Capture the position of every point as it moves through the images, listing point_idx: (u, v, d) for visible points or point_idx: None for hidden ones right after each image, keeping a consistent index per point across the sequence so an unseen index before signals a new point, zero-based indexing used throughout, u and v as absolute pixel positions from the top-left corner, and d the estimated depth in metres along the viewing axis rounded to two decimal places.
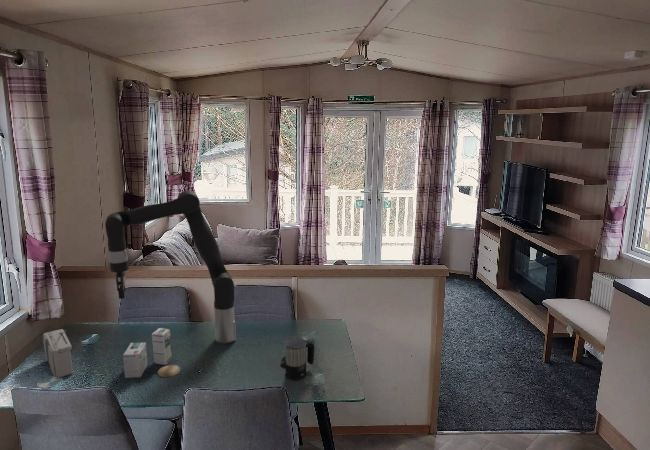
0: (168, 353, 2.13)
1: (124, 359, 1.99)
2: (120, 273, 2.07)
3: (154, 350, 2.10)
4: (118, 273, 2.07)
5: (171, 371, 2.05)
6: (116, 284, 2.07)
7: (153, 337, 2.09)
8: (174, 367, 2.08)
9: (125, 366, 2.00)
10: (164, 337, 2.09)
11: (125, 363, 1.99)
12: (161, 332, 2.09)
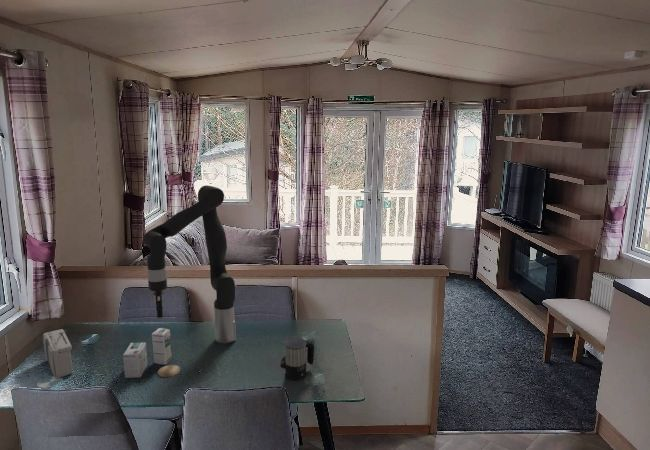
0: (168, 353, 2.13)
1: (124, 359, 1.99)
2: (159, 292, 2.03)
3: (154, 350, 2.10)
4: (157, 292, 2.03)
5: (171, 371, 2.05)
6: (155, 303, 2.03)
7: (153, 337, 2.09)
8: (174, 367, 2.08)
9: (125, 366, 2.00)
10: (164, 337, 2.09)
11: (125, 363, 1.99)
12: (161, 332, 2.09)
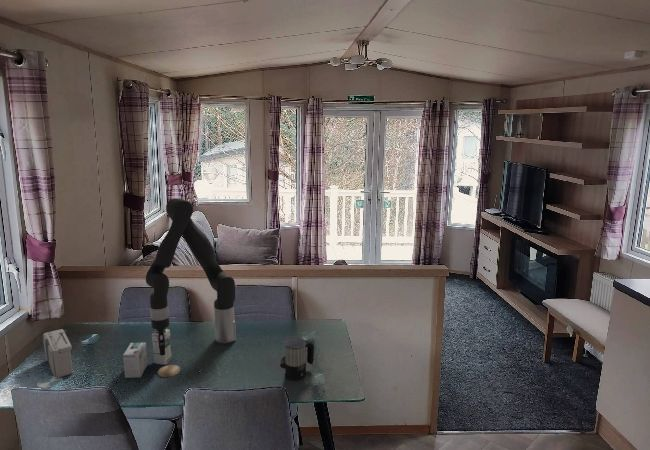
0: (168, 353, 2.13)
1: (124, 359, 1.99)
2: (162, 330, 2.07)
3: (154, 350, 2.10)
4: (160, 330, 2.07)
5: (171, 371, 2.05)
6: None
7: (153, 337, 2.09)
8: (174, 367, 2.08)
9: (125, 366, 2.00)
10: (164, 337, 2.09)
11: (125, 363, 1.99)
12: None
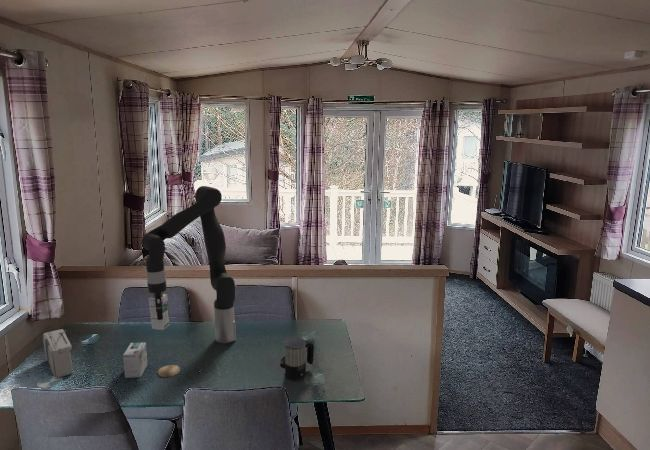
0: (166, 318, 2.09)
1: (124, 359, 1.99)
2: (159, 294, 2.03)
3: (151, 315, 2.06)
4: (157, 294, 2.03)
5: (171, 371, 2.05)
6: (155, 305, 2.03)
7: (150, 302, 2.05)
8: (174, 367, 2.08)
9: (125, 366, 2.00)
10: None
11: (125, 363, 1.99)
12: None
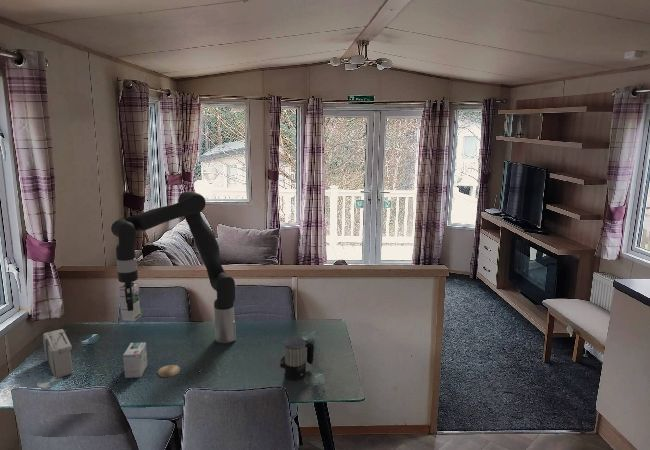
0: (137, 309, 1.99)
1: (124, 359, 1.99)
2: (129, 283, 1.93)
3: (121, 306, 1.97)
4: (127, 283, 1.93)
5: (171, 371, 2.05)
6: (125, 295, 1.94)
7: (120, 291, 1.95)
8: (174, 367, 2.08)
9: (125, 366, 2.00)
10: None
11: (125, 363, 1.99)
12: None
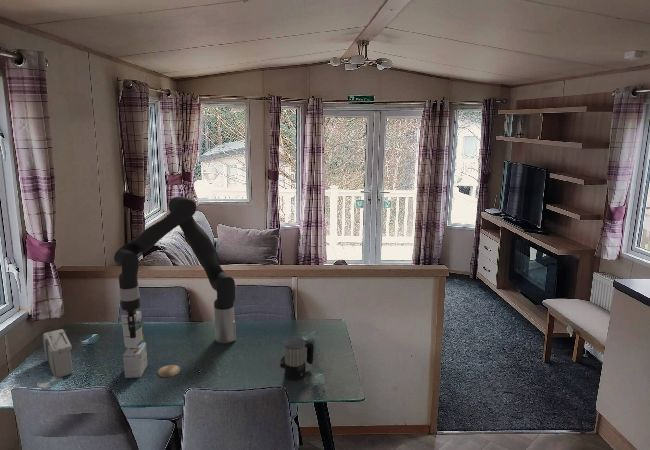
0: (139, 336, 2.02)
1: (124, 359, 1.99)
2: (132, 311, 1.96)
3: (124, 333, 1.99)
4: (129, 311, 1.96)
5: (171, 371, 2.05)
6: (127, 323, 1.96)
7: (123, 319, 1.98)
8: (174, 367, 2.08)
9: (125, 366, 2.00)
10: (134, 319, 1.98)
11: (125, 363, 1.99)
12: None
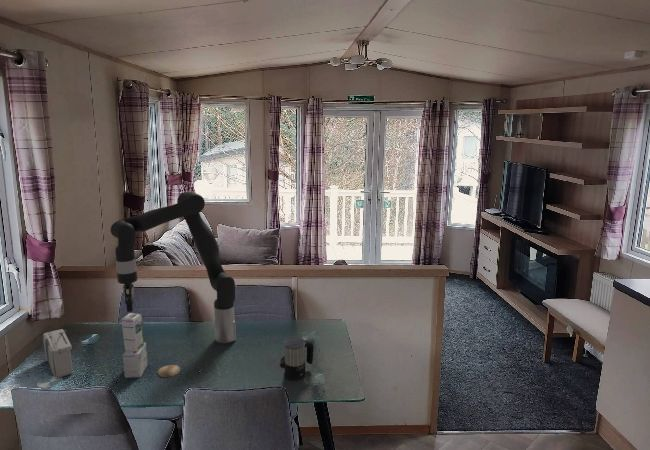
0: (140, 339, 2.02)
1: (124, 359, 1.99)
2: (128, 285, 1.93)
3: (124, 336, 2.00)
4: (126, 285, 1.93)
5: (171, 371, 2.05)
6: (124, 296, 1.93)
7: (123, 322, 1.98)
8: (174, 367, 2.08)
9: (125, 366, 2.00)
10: (134, 322, 1.98)
11: (124, 363, 1.99)
12: (131, 317, 1.99)
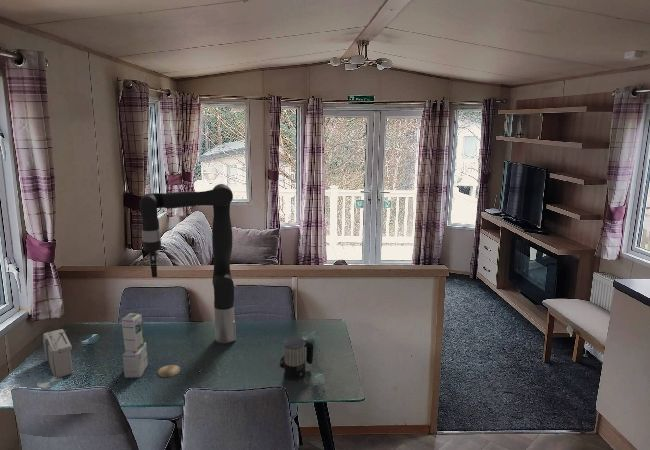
0: (140, 339, 2.02)
1: (124, 359, 1.99)
2: (153, 252, 2.12)
3: (124, 336, 2.00)
4: (151, 252, 2.12)
5: (171, 371, 2.05)
6: (149, 263, 2.12)
7: (123, 322, 1.98)
8: (174, 367, 2.08)
9: (125, 366, 2.00)
10: (134, 322, 1.98)
11: (124, 362, 1.99)
12: (131, 317, 1.99)
